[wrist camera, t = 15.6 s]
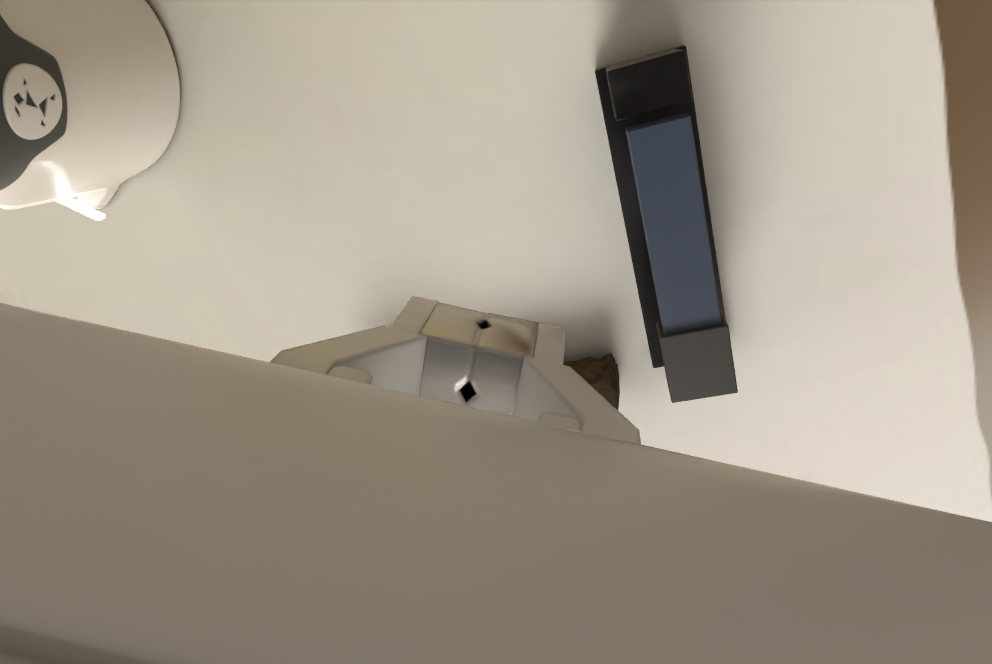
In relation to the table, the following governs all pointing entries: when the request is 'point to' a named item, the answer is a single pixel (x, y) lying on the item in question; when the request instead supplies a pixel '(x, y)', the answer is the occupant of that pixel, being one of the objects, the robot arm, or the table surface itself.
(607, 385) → the hand tool
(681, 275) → the stapler arm
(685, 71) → the stapler
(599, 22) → the table surface
